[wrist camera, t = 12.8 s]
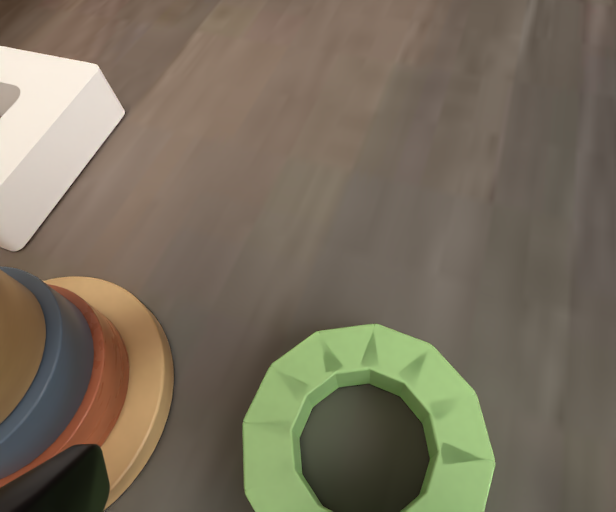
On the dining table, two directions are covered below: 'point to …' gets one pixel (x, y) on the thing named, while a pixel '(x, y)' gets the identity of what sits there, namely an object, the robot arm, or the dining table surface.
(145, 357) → the ring stand
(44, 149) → the holder
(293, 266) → the dining table surface
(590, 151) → the dining table surface
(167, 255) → the dining table surface
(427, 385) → the green ring
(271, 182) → the dining table surface
